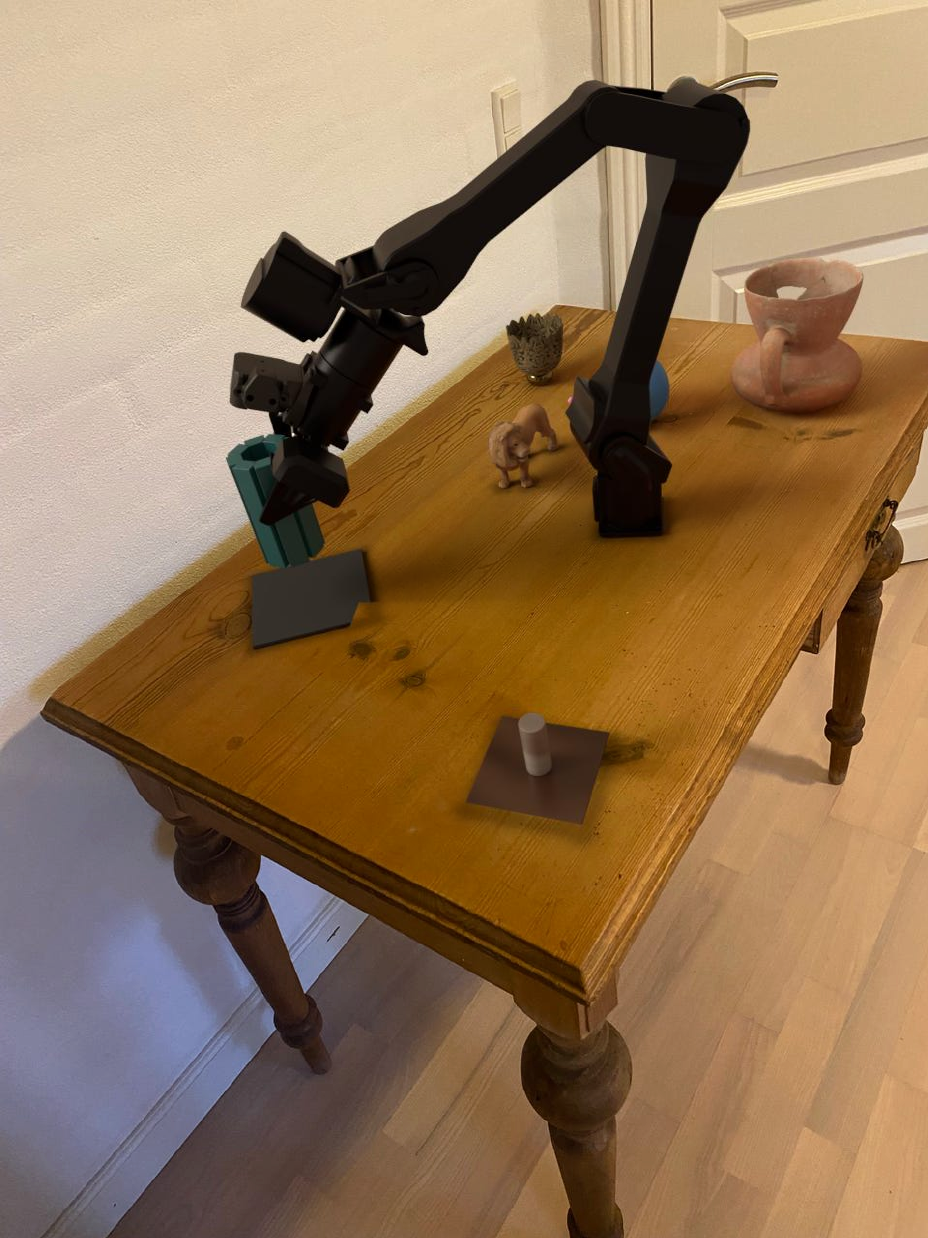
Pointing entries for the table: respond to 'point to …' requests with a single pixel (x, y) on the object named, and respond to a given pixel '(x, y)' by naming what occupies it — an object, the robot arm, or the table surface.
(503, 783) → the peg stand
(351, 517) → the table surface
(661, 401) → the blue mole toy
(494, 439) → the lion figurine
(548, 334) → the cup
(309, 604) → the mat
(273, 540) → the sleeve
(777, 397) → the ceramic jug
